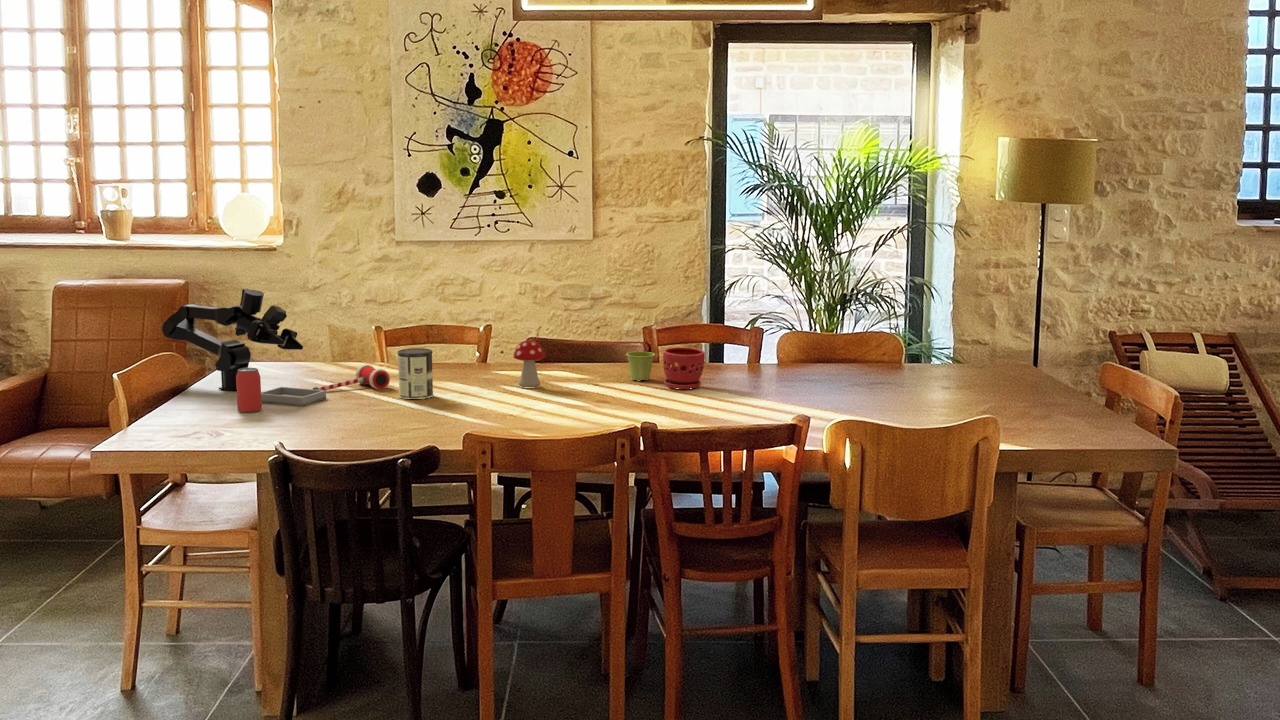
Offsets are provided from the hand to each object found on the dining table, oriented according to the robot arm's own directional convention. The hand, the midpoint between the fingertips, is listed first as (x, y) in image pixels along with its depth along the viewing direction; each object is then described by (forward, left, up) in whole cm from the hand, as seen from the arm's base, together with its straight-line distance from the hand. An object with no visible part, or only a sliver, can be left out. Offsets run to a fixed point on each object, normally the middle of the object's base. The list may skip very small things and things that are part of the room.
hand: (293, 345), depth 382 cm
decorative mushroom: (+58, +41, -16) cm, 73 cm away
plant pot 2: (+103, +59, -16) cm, 120 cm away
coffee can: (+33, +14, -16) cm, 39 cm away
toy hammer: (+9, +19, -16) cm, 27 cm away
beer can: (0, -22, -16) cm, 27 cm away
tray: (+2, -5, -16) cm, 16 cm away
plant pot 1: (+86, +66, -16) cm, 110 cm away
